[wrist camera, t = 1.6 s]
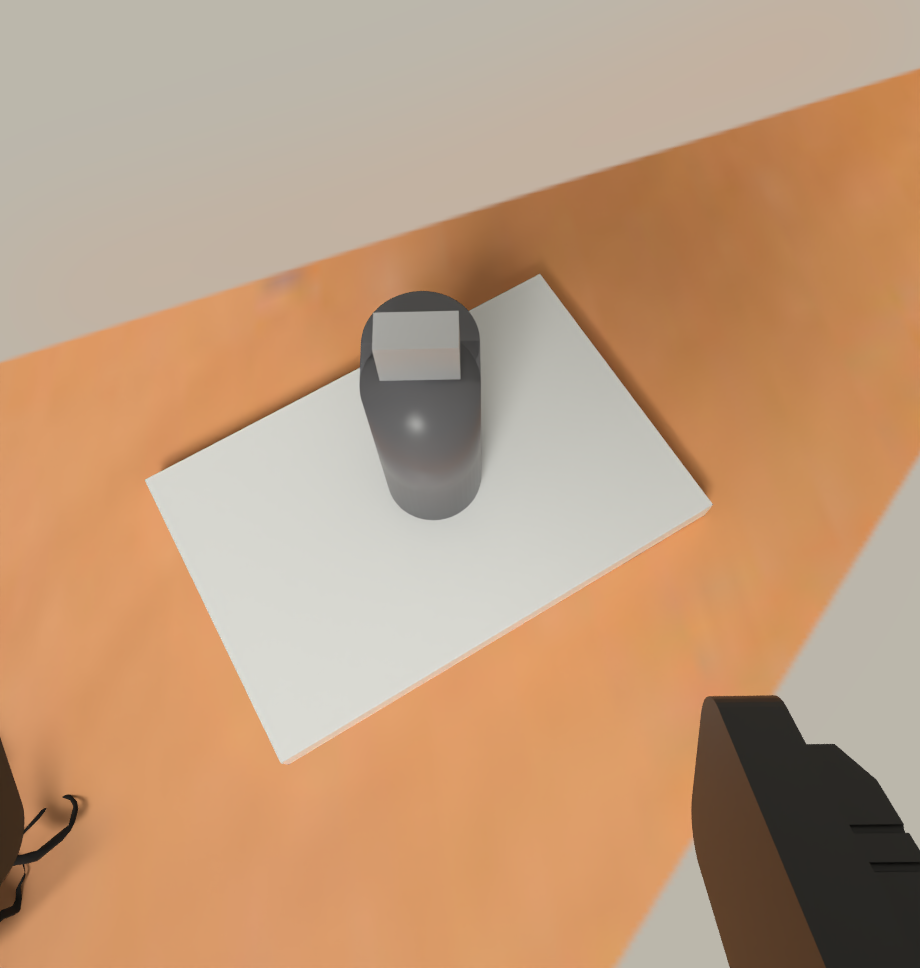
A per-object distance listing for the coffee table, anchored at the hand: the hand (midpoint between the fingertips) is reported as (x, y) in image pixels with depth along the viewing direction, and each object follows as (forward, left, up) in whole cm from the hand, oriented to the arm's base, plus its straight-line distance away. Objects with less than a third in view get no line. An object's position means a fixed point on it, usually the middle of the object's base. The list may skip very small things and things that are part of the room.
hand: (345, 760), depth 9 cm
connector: (+6, +10, -19) cm, 22 cm away
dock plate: (+5, +9, -20) cm, 23 cm away
